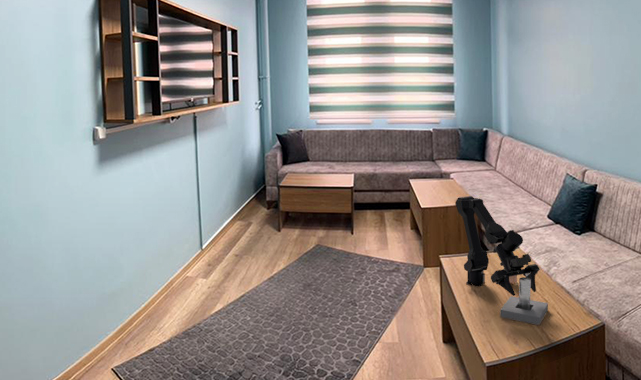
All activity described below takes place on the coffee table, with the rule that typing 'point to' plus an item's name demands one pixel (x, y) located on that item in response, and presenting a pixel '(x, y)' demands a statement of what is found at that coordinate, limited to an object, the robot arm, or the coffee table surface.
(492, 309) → the coffee table surface
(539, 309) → the pocket block
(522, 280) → the steel peg
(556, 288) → the coffee table surface
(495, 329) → the coffee table surface
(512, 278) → the grandmother figurine
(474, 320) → the coffee table surface
